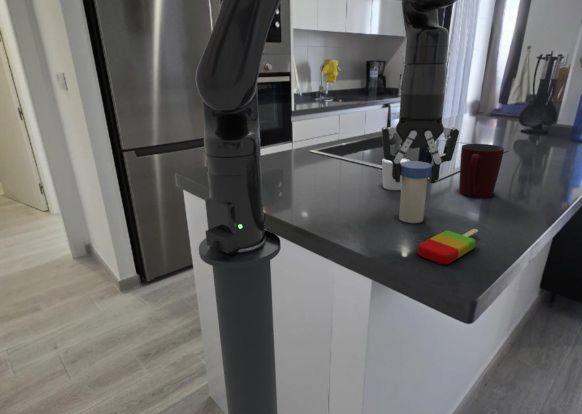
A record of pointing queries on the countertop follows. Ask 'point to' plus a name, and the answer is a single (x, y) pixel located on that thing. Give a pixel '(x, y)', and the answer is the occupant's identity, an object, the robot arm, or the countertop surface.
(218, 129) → the robot arm
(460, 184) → the mug
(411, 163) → the lid
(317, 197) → the countertop surface
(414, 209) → the jar
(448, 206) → the countertop surface
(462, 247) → the popsicle
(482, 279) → the countertop surface
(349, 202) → the countertop surface
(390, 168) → the white short cylinder
